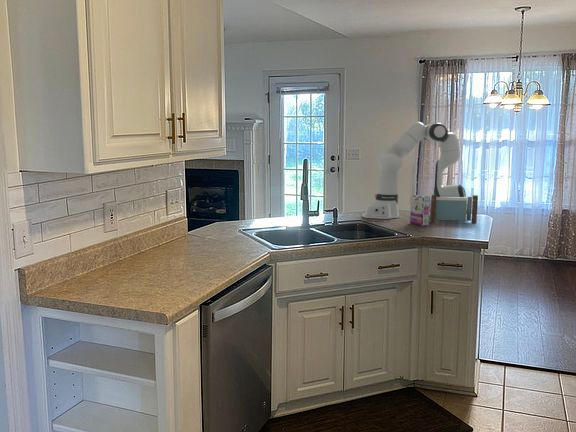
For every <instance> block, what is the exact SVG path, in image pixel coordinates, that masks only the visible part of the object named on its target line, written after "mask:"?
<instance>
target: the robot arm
mask: <svg viewBox="0 0 576 432" xmlns="http://www.w3.org/2000/svg"><path fill="white" fill-rule="evenodd" d="M423 139H424V140H425V141H427V142H437V143H438V145H439V149H440V150H439V152H440V156H439V159H438V160H436V163H435V172H434V173H435V174H434V187H433V195H436V197H466V196H467V195H466V190H465V188H464V187H463V186H462V185H461V184H459V183H458V184H450V185H443V177H444V176H443V174H444V171H445V170H446V169H447V168H449V167H451V166H453V165H455V164H456V163H457V162H458V161H459V160H460V156H461V155H460V146H459V142H458V138H457V135H456V133H454V132H452V131H451V132H450V131H449V130H448V129H447V127H446V125H444V124H443V123H442V122H430V123H427V124H424V123H423V122H421V121H414V123H412V124H411V125H409V126H408V127H407V128H406V129H405V130H404V132H402V134H401V135H400V136H399V137H398V138H397V139H396V140H395V141H394V142H393V143H392V144H391V145H390V146H388V147H387V148H386V149H385V150H384V151H383V152H382V153H381V154H379V156H377V159H376V164H377V165H378V168H379V169H380V170H381V175H380V178H379V181H378V182H379V185H378V193H375V194H374V198H375V200H373V201H372V202H371V203H370V204H368V205H367V207H366V209H365V212H364V213H362V218H365V219H381V220H382V219H383V220H389V219H398V218H400V214H399V208H398V203H399V194H398V186H399V185H398V183H399V178H400V172H401V168H402V166H403V161H402V159H403V158H405V157H406V156H408V155H410V154H411V152H412V151H413V150H414V149H415V148H416V146H417V145H419V144H420V142H421V141H422V140H423ZM466 216H467V209H466Z"/></svg>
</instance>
